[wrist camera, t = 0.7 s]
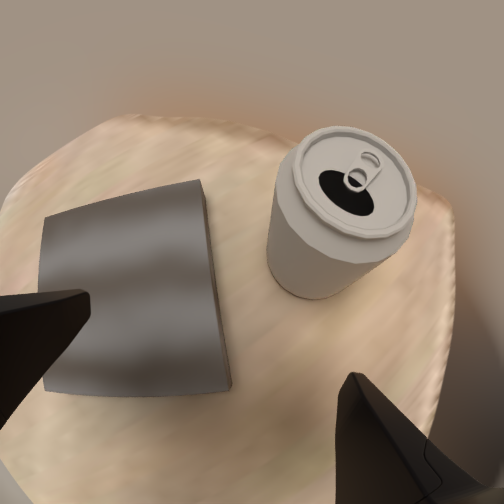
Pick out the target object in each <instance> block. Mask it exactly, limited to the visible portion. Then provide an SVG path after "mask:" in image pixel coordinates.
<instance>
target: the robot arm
mask: <svg viewBox="0 0 504 504" xmlns="http://www.w3.org/2000/svg"><path fill="white" fill-rule="evenodd" d="M90 316H91V302H90V294H89V293H88V292H87V291H85V290H82V289H70V290H60V291H50V292H40V293H29V294H18V295H6V296H0V430H1V429H2V427H3V426H4V425H5V423H6V422H7V420H8V419H9V418H10V416H11V415H12V414H13V412H14V411H15V410H16V408H17V407H18V406H19V405H20V403H21V402H22V401H23V400H24V398H25V397H26V396H27V395H28V393H29V392H30V391H31V390H32V388H33V387H34V386H35V385H36V384H37V382H38V381H39V380H40V379H41V378H42V376H43V375H44V374H45V373H46V372H47V371H48V369H49V368H50V367H51V366H52V365H53V364H54V362H55V361H56V360H57V359H58V358H59V357H60V356H61V355H62V353H63V352H64V351H65V350H66V349H67V348H68V347H69V345H70V344H71V343H72V341H73V340H74V339H75V337H76V336H77V334H78V333H79V332H80V330H81V329H82V328H83V326H84V325H85V324H86V322H87V321H88V320H89V318H90ZM335 452H336V500H335V504H504V488H493V487H488V486H485V485H483V484H481V483H480V482H478V481H477V480H476V479H474V478H473V477H472V476H470V475H469V474H468V473H467V472H465V471H464V470H463V469H461V468H460V467H459V466H458V465H457V464H455V463H454V462H453V461H452V460H451V459H449V458H448V457H447V456H446V455H444V454H443V452H441V451H440V450H439V449H438V448H437V447H436V446H435V445H434V444H433V443H432V442H431V441H430V440H429V439H427V437H426V436H425V435H424V434H423V433H422V432H421V431H420V430H419V429H418V428H417V427H416V426H415V425H414V424H413V423H412V422H411V421H410V420H409V419H408V418H407V417H406V416H405V415H404V414H403V413H402V412H401V411H400V410H399V409H398V408H397V407H396V406H395V405H394V404H393V403H392V402H391V401H390V400H389V399H388V398H387V397H386V396H385V395H384V394H383V393H382V392H381V391H380V390H379V389H378V388H377V387H376V386H375V385H374V384H373V383H372V382H371V381H370V380H369V379H368V378H367V377H366V376H365V375H364V374H362V373H356V372H351V373H349V375H348V376H347V378H346V380H345V382H344V384H343V385H342V387H341V389H340V391H339V394H338V406H337V419H336V431H335Z"/></svg>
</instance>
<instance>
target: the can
mask: <svg viewBox="0 0 504 504" xmlns="http://www.w3.org/2000/svg"><path fill="white" fill-rule="evenodd" d="M416 205H417V190H416V184H415V181H414V178H413V176H412V173H411V171H410V169H409V167H408V166H407V164H406V163H405V161H404V160H403V159H402V157H401V156H400V155H399V153H397V151H396V150H394V149H393V148H392V147H391V146H390V145H389V144H388V143H387V142H385V141H384V140H382V139H380V138H378V137H377V136H375V135H373V134H371V133H370V132H367V131H363V130H360V129H357V128H354V127H343V126H332V127H327V128H322V129H318V130H316V131H314V132H313V133H311V134H310V135H308V136H306V137H305V138H304V139H303V140H302V142H301V143H300V144H299V145H297V146H295V147H294V148H292V149H291V150H290V151H289V152H288V154H287V155H286V156H285V158H284V159H283V161H282V162H281V163H280V166H279V170H278V174H277V178H276V182H275V189H274V197H273V205H272V212H271V219H270V227H269V234H268V241H267V249H266V250H267V260H268V265H269V267H270V270H271V272H272V274H273V276H274V278H275V279H276V280H277V281H278V282H279V283H280V285H281V286H282V287H283V288H284V289H286V290H287V291H289V292H291V293H293V294H294V295H296V296H298V297H303V298H307V299H322V298H328V297H330V296H332V295H334V294H336V293H338V292H340V291H342V290H343V289H345V288H346V287H348V286H349V285H351V284H352V283H354V282H355V281H357V280H358V279H360V278H361V277H362V276H364V275H365V274H367V273H368V272H370V271H371V270H372V269H374V268H375V267H377V266H378V265H380V264H381V263H382V262H384V261H385V260H386V259H388V258H389V257H391V256H392V255H393V254H395V253H396V252H397V251H398V250H399V249H400V247H401V246H402V245H403V244H404V242H405V241H406V240H407V239H408V237H409V234H410V231H411V228H412V225H413V221H414V212H415V209H416Z"/></svg>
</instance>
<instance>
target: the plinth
mask: <svg viewBox="0 0 504 504" xmlns="http://www.w3.org/2000/svg"><path fill="white" fill-rule="evenodd" d="M70 289H82V290H85V291H87V292H88V293H89V294H90V302H91V316H90V318H89V320H88V321H87V322H86V324H85V325H84V326H83V328H82V329H81V330H80V332H79V333H78V334H77V336H76V337H75V339H74V340H73V341H72V343H71V344H70V345H69V347H68V348H67V349H66V350H65V351H64V352H63V353H62V355H61V356H60V357H59V358H58V359H57V360H56V361H55V362H54V364H53V365H52V366H51V367H50V368H49V369H48V371H47V372H46V373H45V374H44V375H43V382H44V389H45V391H49V392H57V393H66V394H76V395H89V396H108V397H159V396H179V395H193V394H204V393H214V392H223V391H229V390H230V388H231V386H232V381H231V375H230V369H229V364H228V358H227V352H226V346H225V340H224V334H223V328H222V321H221V315H220V308H219V302H218V295H217V288H216V281H215V274H214V266H213V259H212V251H211V243H210V235H209V227H208V218H207V209H206V200H205V195H204V192H203V188H202V185H201V182H200V179H198V180H192V181H187V182H182V183H177V184H172V185H167V186H162V187H157V188H153V189H148V190H144V191H139V192H135V193H131V194H127V195H123V196H119V197H115V198H111V199H107V200H103V201H99V202H96V203H92V204H88V205H85V206H81V207H78V208H74V209H71V210H68V211H64V212H61V213H58V214H55V215H52V216H49V217H46V218H45V220H44V226H43V233H42V241H41V250H40V261H39V275H38V293H40V292H50V291H60V290H70Z"/></svg>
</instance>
